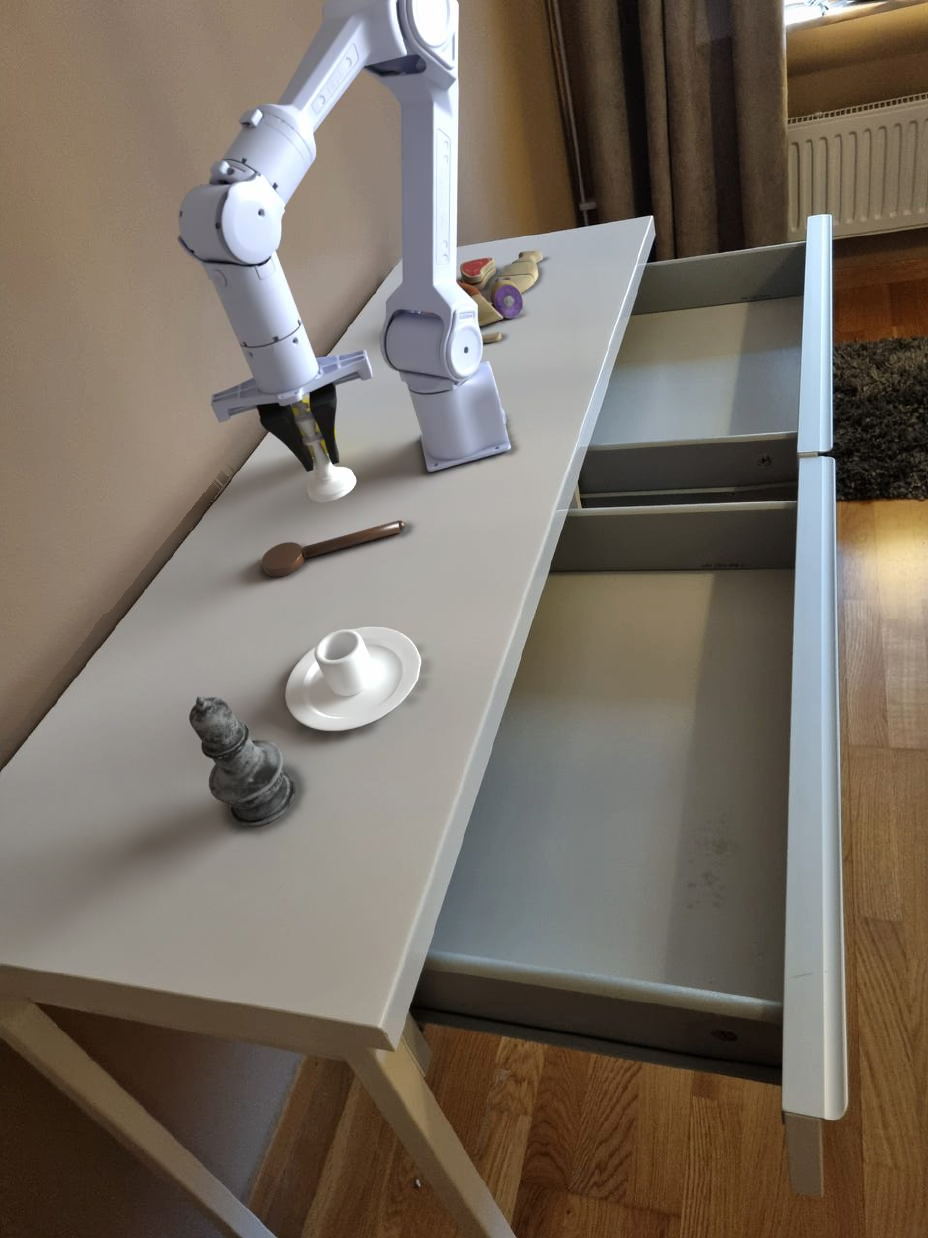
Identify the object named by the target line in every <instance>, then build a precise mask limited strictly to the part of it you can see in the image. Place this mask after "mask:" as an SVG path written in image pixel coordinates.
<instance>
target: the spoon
mask: <svg viewBox="0 0 928 1238" xmlns="http://www.w3.org/2000/svg"><path fill="white" fill-rule="evenodd" d="M405 529H406V523H405V522H404V521H403V520H400V519H399V520H395V521H392V522H388V523H384V524H380V525H377V526H373V527H369V528H366V529H363V530H359V531H354V532H352V533H348V534H345V535H344V534H343V535H341V536H337V537H334V538H329V539H326V540H322V541H319V542H315V543H312V544H308V545H305V546H303V547H302V545H301V544H299V543H297V542H293V541H286V542H282V543H279V544H276V545H274V546H273V547H271V548H270V549H268V550H267V551H266V552H265V553H264V555H263V556H262V558H261V566H262V568H263V570H264V572H265V573H266V574H267V575H268V576H271V577H274V578H281V577H285V576H288V575H290V574H293V573H294V572H296V571H297V570H298V569H300V568H301V567H302V566H303V564H304V563H305V560H306V559H308V558H312V557H316V556H319V555H323V554H326V553H330V552H334V551H337V550H341V549H344V548H348V547H353V546H355V545H356V546H357V545H359V544H362V543H366V542H370V541H373V540H377V539H380V538H384V537H387V536H391V535H395V534H399V533H402V532H404V531H405Z"/></svg>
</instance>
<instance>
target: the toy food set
mask: <svg viewBox="0 0 928 1238" xmlns="http://www.w3.org/2000/svg"><path fill="white" fill-rule="evenodd" d="M543 259H544V258H543V253H542V251H540V250H528V251H527V250H526V251H520V252H519V253H518V258H517V259H516V260H514V261H513V262H511V263H510V264H509V265H507V266H506V267H505V268H504V269H503V270H501V272H500V273H499V274H498V276H497V277H496V279H495V282H494V284H493V285H492V286H491V289H490V292H489V299H490V302H489V301H488V300H487V299H486V298H485V297H484V296H483V295H482V294H481V292H480V291H482V290H483V289H485V287H486V284H487V282H489V280H490V279H491V278H492V277H493V276H495V274H496V273H497V268H496V264H495V263H496V262H495V258H494V257H489V256H488V257H481V258H476V259H472V260H467V261H465V262H462V263H460V266H459V270H460V275H461V279H462V282H461V281H459V280H458V278H456V282H457V284H458V285H459V286H460V287H461V288H462V289H463V290H464V291H465V292H466V293H467V294H468V295H469V296H470V297H471V298H472V299H473V300H474V301H475V303H476V304H477V305H478V324H479V328H480V327H483V326H486V325H489V324H492V323H494V322H498V321H501V320H503V319H504V318H505V319H515V318H517V317H518V316H519V315H520V314H521V313H522V311H523V308H524V304H525V303H524V302H525V301H524V297H523V294H522V293H524V292H526V291H527V290H528V289H530V288H531V287H532V286H533V285H534V284H535V283H536V282H537V280H538V278H539V268H538V264H537V263H540V262H541V261H542V260H543ZM420 313H422V314H430V315H437V314H435V313H430V312H420ZM481 335H482V341H483V344H487V343H495V342H498V341H500V340H501V339H502V333H500V332H498V331H496V332H487V333H481Z"/></svg>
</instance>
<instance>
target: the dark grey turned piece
mask: <svg viewBox="0 0 928 1238" xmlns="http://www.w3.org/2000/svg"><path fill="white" fill-rule="evenodd" d="M188 720H189V723H190V726H191V727H192V729H193V731H194V732H195V733H196V735H197V736H198V738H199V739H200V741H201V746H200V749H201V752H202V754H203V755H204V756H205V757H207V758H209V759H211V760H212V761H213V762H214V765H213V766H212V768H211V770H210V772H209V773H210V774H209V777H208V788H209V791H210V794H211V795H212V796H213V797H214V798H215V799H216V800H217V801H219V802H221V803H223V804H226V805H228V806H229V807H230V813H231V815H232V818H233V819H234V820H235V821H236V822H237V823H238V824H240V825H242V826H244V827H249V828H256V827H262V826H265V825H268V824H270V823H272V822H274V821H276V820H278V819H279V818H280V817H281V816H282V815H284V814H285V813H286V811H287V810H288V809H289V808H290V806H291V805H292V803H293V801H294V799H295V794H296V783H295V781H294V779H293V778H292V776H291V775H290V773H288V772H286V771H284V758H283V757H284V756H283V754H282V751H281V749H280V748H279V747H278V746H277V745H276V744H275V743H274V742H271V741H269V740H264V739H251V737H250V729H249V726H248V725H247V724H246V723H245V721H242V720H240V719H237V717H236V715H235V714H234V712H233V711H232V709H231V707H230V706H229V704H228V703H227V702H226V701H225V700H224V699H223V698H222V697H221V698H220V697H217V696H210V697H205V696H197V698H196V701H195V704H194V705H193V707H192V708H191V709H190V712H189V716H188Z"/></svg>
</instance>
